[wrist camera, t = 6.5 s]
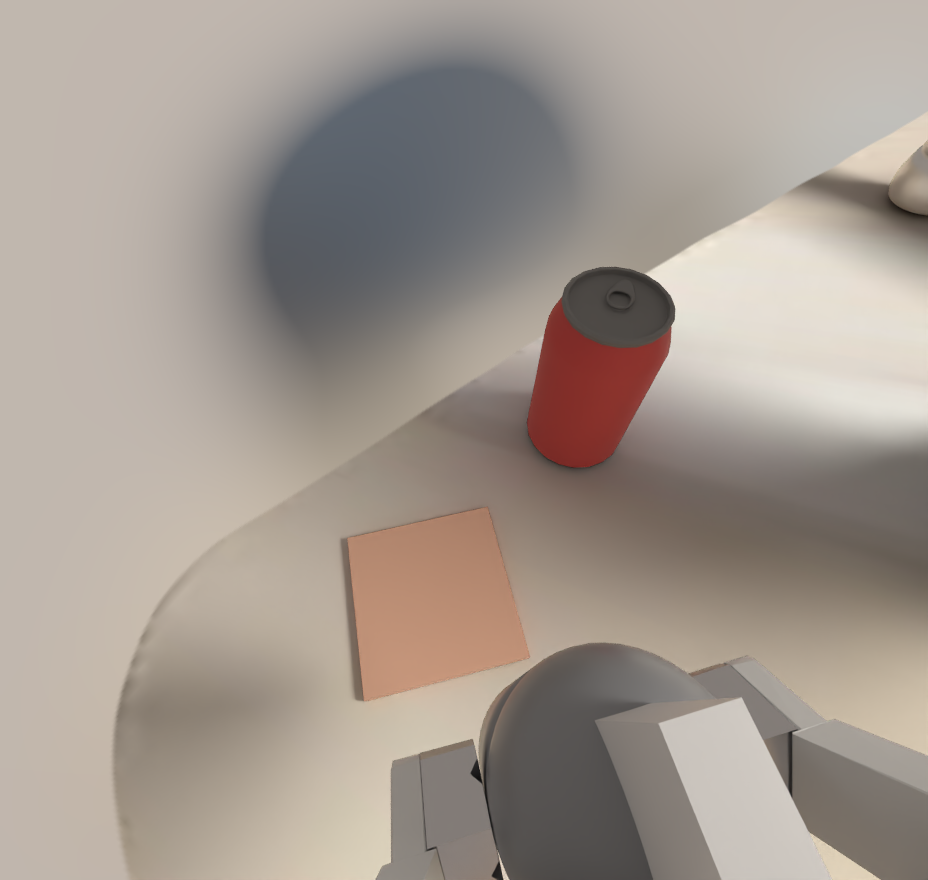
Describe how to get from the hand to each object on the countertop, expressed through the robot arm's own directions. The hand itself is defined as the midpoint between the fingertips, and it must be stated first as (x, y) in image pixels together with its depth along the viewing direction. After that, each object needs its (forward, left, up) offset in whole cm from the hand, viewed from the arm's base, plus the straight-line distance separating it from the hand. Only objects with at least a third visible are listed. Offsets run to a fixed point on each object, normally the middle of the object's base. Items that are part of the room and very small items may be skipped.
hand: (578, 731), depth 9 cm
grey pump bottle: (0, +1, -5) cm, 5 cm away
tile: (+3, -7, -17) cm, 19 cm away
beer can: (-9, -16, -18) cm, 26 cm away
